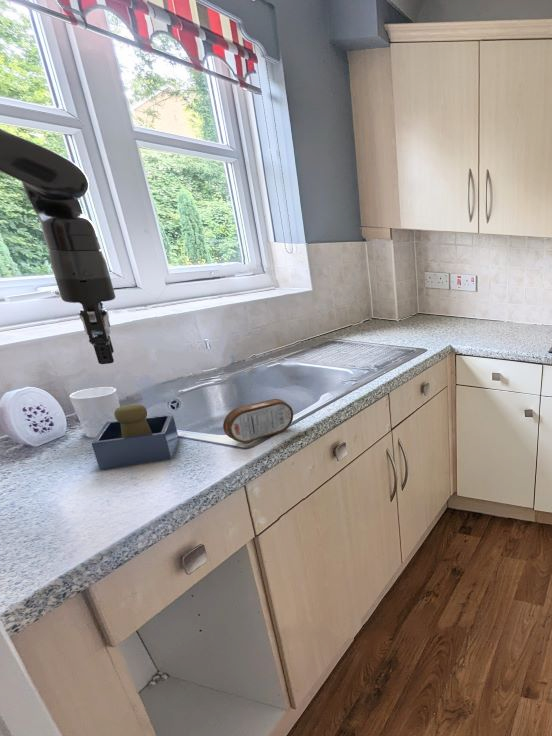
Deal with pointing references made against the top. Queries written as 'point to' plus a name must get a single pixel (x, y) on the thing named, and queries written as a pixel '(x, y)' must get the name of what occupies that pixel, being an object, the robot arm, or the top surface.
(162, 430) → the holder
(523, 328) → the top surface
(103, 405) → the white cup
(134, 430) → the cork
